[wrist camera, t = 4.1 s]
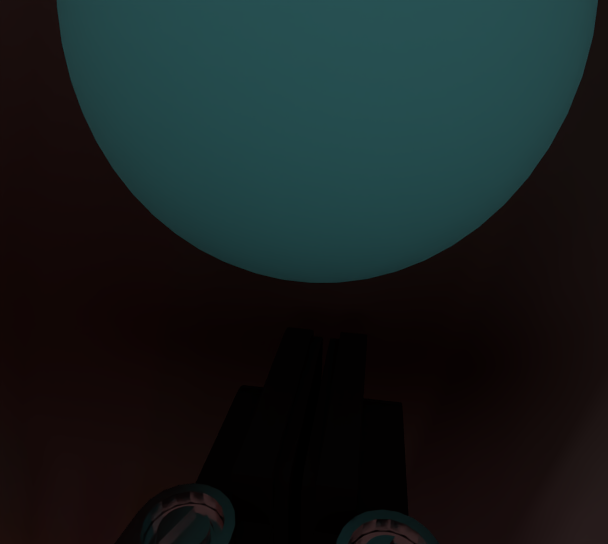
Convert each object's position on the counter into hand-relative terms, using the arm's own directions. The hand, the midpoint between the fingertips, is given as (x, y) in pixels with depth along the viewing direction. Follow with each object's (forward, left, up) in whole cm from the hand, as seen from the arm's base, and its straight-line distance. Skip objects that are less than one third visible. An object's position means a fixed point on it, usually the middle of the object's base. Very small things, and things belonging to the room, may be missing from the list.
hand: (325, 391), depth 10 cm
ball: (0, +6, +2) cm, 7 cm away
